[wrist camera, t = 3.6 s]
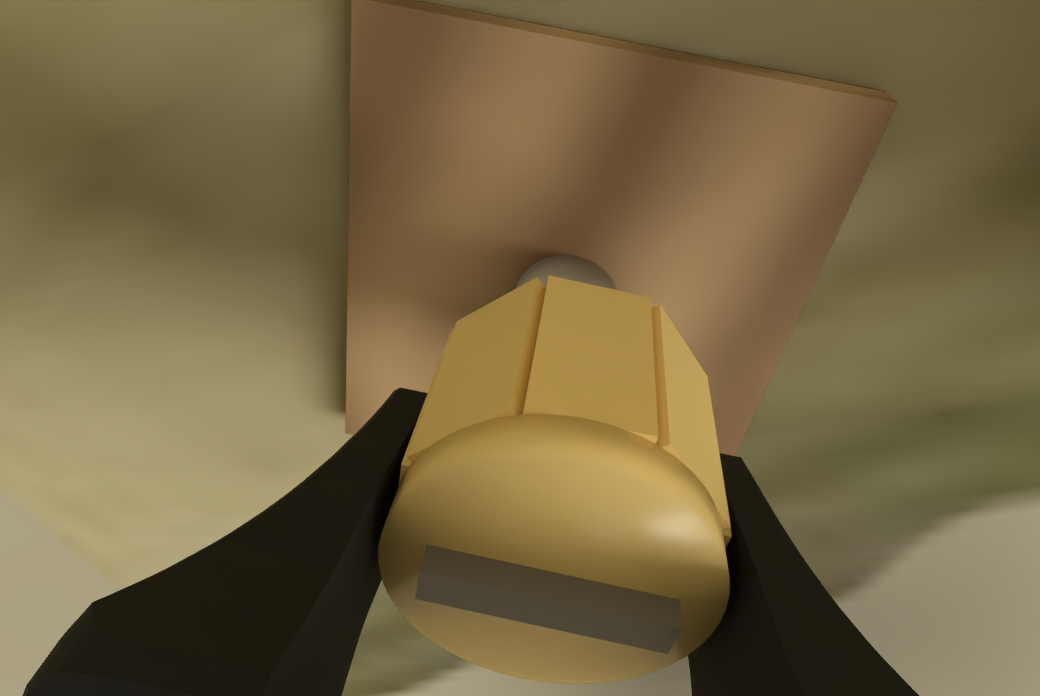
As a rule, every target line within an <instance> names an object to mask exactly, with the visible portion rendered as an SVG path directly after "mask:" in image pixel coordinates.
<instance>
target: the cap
mask: <svg viewBox="0 0 1040 696" xmlns="http://www.w3.org/2000/svg"><path fill="white" fill-rule="evenodd" d="M730 528H731V524H730V518H729V511H728V505H727V499H726V492H725V486H724V479H723V473H722V466H721V460H720V454H719V447H718V441H717V434H716V428H715V422H714V415H713V409H712V402H711V396H710V390H709V383H708V377H707V375H706V373H705V372H704V370H703V369H702V367H701V366H700V364H699V362H698V361H697V359H696V358H695V356H694V355H693V353H692V352H691V350H690V349H689V347H688V346H687V344H686V343H685V341H684V340H683V338H682V337H681V335H680V334H679V332H678V331H677V329H676V327H675V326H674V324H673V323H672V321H671V320H670V318H669V317H668V315H667V314H666V312H665V311H664V309H663V308H662V306H661V305H660V304H658V305H656V306H654V307H652V308H651V298H650V297H646V296H641V295H637V294H632V293H628V292H623V291H618V290H614V289H609V288H605V287H600V286H596V285H591V284H586V283H582V282H577V281H573V280H568V279H564V278H559V277H554V276H550V275H549V277H548V281H547V286H546V287H545V286H544V285H543V283H542V282H541V280H540V279H539V278H538V277H536V278H535V279H533V280H531V281H529V282H527V283H525V284H524V285H522V286H520V287H518V288H516V289H515V290H513V291H511V292H509V293H507V294H505V295H504V296H502V297H500V298H498V299H496V300H495V301H493V302H491V303H489V304H487V305H485V306H484V307H482V308H480V309H478V310H476V311H475V312H473V313H471V314H469V315H467V316H465V317H464V318H462V319H460V320H458V321H457V322H456V325H455V328H454V329H451V332H450V334H449V337H448V340H447V342H446V345H445V348H444V350H443V353H442V356H441V359H440V361H439V364H438V367H437V369H436V372H435V375H434V377H433V380H432V383H431V385H430V388H429V391H428V394H427V396H426V399H425V402H424V404H423V407H422V410H421V412H420V415H419V418H418V420H417V423H416V426H415V429H414V431H413V434H412V437H411V439H410V442H409V445H408V447H407V450H406V453H405V455H404V458H403V461H402V464H401V470H400V479H399V487H398V489H397V492H396V494H395V497H394V500H393V503H392V505H391V508H390V511H389V514H388V516H387V519H386V522H385V525H384V527H383V530H382V533H381V537H380V542H379V547H378V564H379V569H380V574H381V578H382V580H383V583H384V585H385V588H386V590H387V592H388V594H389V596H390V597H391V599H392V601H393V603H394V604H395V606H396V607H397V608H398V609H399V611H400V612H401V613H402V614H403V616H404V617H405V618H406V619H407V620H408V621H409V622H410V623H411V624H412V625H413V626H414V627H415V628H416V629H417V630H419V631H420V632H421V633H422V634H424V635H425V636H426V637H427V638H429V639H430V640H431V641H433V642H434V643H436V644H437V645H439V646H441V647H442V648H444V649H445V650H447V651H449V652H451V653H453V654H454V655H456V656H458V657H460V658H462V659H464V660H467V661H469V662H471V663H474V664H476V665H478V666H481V667H484V668H487V669H490V670H493V671H496V672H499V673H502V674H506V675H510V676H514V677H518V678H523V679H529V680H534V681H541V682H549V683H560V684H561V683H562V684H593V683H605V682H613V681H620V680H625V679H630V678H635V677H639V676H641V675H645V674H649V673H652V672H655V671H657V670H660V669H662V668H665V667H667V666H669V665H672V664H673V663H675V662H677V661H679V660H681V659H682V658H684V657H686V656H687V655H689V654H690V653H691V652H693V651H694V650H696V649H697V648H698V647H700V646H701V645H702V644H703V643H704V642H705V641H706V640H707V639H708V638H709V637H710V636H711V634H712V633H713V632H714V630H715V629H716V627H717V626H718V625H719V623H720V621H721V619H722V617H723V615H724V613H725V611H726V608H727V603H728V599H729V595H730V577H729V570H728V563H727V556H726V549H725V548H726V546H727V545H728V543H729V541H730V539H731V537H732V535H731V529H730Z"/></svg>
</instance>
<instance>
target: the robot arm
mask: <svg viewBox="0 0 1040 696" xmlns="http://www.w3.org/2000/svg"><path fill="white" fill-rule="evenodd" d="M427 394H428V393H425V392H420V391H415V390H410V389H406V388H401V387H400V388H398V389H396V390H394V391H393V393H392V394H391V395H390V396H389V398H388V399H387V400H386V401H385V402H384V404H383V405H382V406H381V407H380V408H379V409H378V410H377V412H376V413H375V414H374V415H373V416H372V417H371V418H370V419H369V420H368V421H367V422H366V423H365V424H364V425H363V427H362V428H361V429H360V430H359V431H358V432H357V433H356V434H355V435H354V436H353V437H352V438H351V439H349V440H348V441H347V442H346V443H345V444H344V445H343V446H342V447H341V448H340V449H339V450H338V451H337V452H336V453H335V454H334V455H333V456H332V457H331V458H330V459H328V460H327V461H326V462H325V463H324V464H323V465H321V466H320V467H319V468H318V469H317V470H316V471H314V472H313V473H312V474H311V475H310V476H309V477H307V478H306V479H305V480H304V481H303V482H302V483H300V484H299V485H298V486H296V487H295V488H294V489H293V490H291V491H290V492H289V493H288V494H286V495H285V496H284V497H282V498H281V499H280V500H278V501H277V502H275V503H274V504H273V505H271V506H270V507H269V508H267V509H266V510H264V511H263V512H261V513H260V514H259V515H257V516H255V517H254V518H252V519H251V520H249V521H248V522H246V523H245V524H243V525H242V526H240V527H239V528H237V529H236V530H234V531H233V532H231V533H229V534H228V535H226V536H224V537H223V538H221V539H220V540H218V541H216V542H214V543H213V544H211V545H209V546H207V547H205V548H204V549H202V550H200V551H198V552H196V553H194V554H193V555H191V556H189V557H187V558H185V559H183V560H182V561H180V562H178V563H176V564H174V565H172V566H171V567H169V568H167V569H165V570H163V571H161V572H159V573H157V574H155V575H153V576H151V577H148V578H146V579H144V580H142V581H140V582H137V583H135V584H133V585H131V586H128V587H126V588H124V589H122V590H120V591H117V592H115V593H113V594H111V595H109V596H107V597H104V598H101V599H99V600H97V601H94V602H92V604H91V605H90V606H89V607H88V608H87V610H85V612H84V613H83V614H82V615H81V616H80V617H79V618H78V619H77V620H76V621H75V622H74V624H73V625H72V626H71V627H70V628H69V629H68V630H67V632H66V633H65V634H64V635H63V636H62V637H61V639H60V640H59V641H58V643H57V644H56V646H55V647H54V648H53V650H52V651H51V652H50V654H49V655H48V657H47V658H46V659H45V661H44V662H43V663H42V665H41V666H40V668H39V669H38V670H37V672H36V673H35V675H34V676H33V677H32V679H31V680H30V681H29V683H28V684H27V686H26V688H25V691H24V694H23V696H341V695H342V692H343V689H344V685H345V682H346V679H347V675H348V672H349V669H350V666H351V662H352V659H353V656H354V653H355V649H356V646H357V643H358V640H359V636H360V633H361V630H362V628H363V625H364V622H365V619H366V617H367V614H368V611H369V609H370V606H371V604H372V602H373V599H374V597H375V594H376V592H377V590H378V587H379V585H380V582H381V580H382V578H381V574H380V569H379V564H378V547H379V542H380V537H381V533H382V530H383V527H384V525H385V522H386V519H387V516H388V514H389V511H390V508H391V505H392V503H393V500H394V497H395V494H396V492H397V489H398V487H399V479H400V470H401V464H402V461H403V458H404V455H405V453H406V450H407V447H408V445H409V442H410V439H411V437H412V434H413V431H414V429H415V426H416V423H417V420H418V418H419V415H420V412H421V410H422V407H423V404H424V402H425V399H426V396H427ZM719 454H720V460H721V466H722V473H723V479H724V486H725V492H726V499H727V505H728V511H729V518H730V524H731V528H730V529H731V535H732V537H731V539H730V541H729V543H728V545H727V546H726V548H725V549H726V556H727V563H728V570H729V577H730V595H729V599H728V603H727V608H726V611H725V613H724V615H723V617H722V619H721V621H720V623H719V625H718V626H717V627H716V629H715V630H714V632H713V633H712V634H711V636H710V637H709V638H708V639H707V640H706V641H705V642H704V643H703V644H702V645H701V646H700V647H698V648H697V649H696V650H694V651H693V652H691V653H690V654H689V655H688V658H689V666H690V674H691V686H692V696H919V695H918V694H917V693H916V692H915V691H914V690H913V689H912V688H911V687H910V686H909V685H908V684H907V683H906V682H905V681H904V680H903V679H902V678H901V677H900V676H899V674H898V673H896V671H895V670H894V669H893V668H892V667H891V666H890V665H889V664H888V663H887V662H886V661H885V660H884V659H883V658H882V657H881V656H880V654H879V653H878V652H877V651H876V650H875V649H874V648H873V647H872V646H871V644H870V643H869V642H868V641H867V640H866V639H865V638H864V636H863V635H862V634H861V633H860V632H859V630H858V629H857V628H856V627H855V626H854V624H853V623H852V622H851V621H850V620H849V618H848V617H847V616H846V615H845V614H844V612H843V611H842V610H841V609H840V608H839V606H838V605H837V604H836V602H835V601H834V600H833V599H832V597H831V596H830V595H829V593H828V592H827V591H826V589H825V588H824V587H823V585H822V584H821V582H820V581H819V580H818V578H817V577H816V576H815V574H814V573H813V571H812V570H811V569H810V567H809V566H808V564H807V563H806V562H805V560H804V559H803V557H802V556H801V554H800V553H799V551H798V550H797V548H796V547H795V545H794V543H793V542H792V540H791V539H790V537H789V536H788V534H787V533H786V531H785V530H784V528H783V526H782V525H781V523H780V522H779V520H778V518H777V517H776V515H775V513H774V512H773V510H772V508H771V507H770V505H769V503H768V502H767V500H766V499H765V497H764V495H763V493H762V492H761V490H760V488H759V487H758V485H757V483H756V482H755V480H754V478H753V477H752V475H751V473H750V471H749V470H748V468H747V467H746V465H745V463H744V462H743V460H742V458H741V457H737V456H732V455H727V454H722V453H719Z"/></svg>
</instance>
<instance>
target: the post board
mask: <svg viewBox="0 0 1040 696" xmlns="http://www.w3.org/2000/svg"><path fill="white" fill-rule="evenodd" d="M896 105H897V102H896V101H894V100H893V99H892V98H891V97H890V96H889V95H888V94H887V93H886V92H884V91H879V90H874V89H869V88H864V87H859V86H854V85H848V84H843V83H838V82H833V81H828V80H823V79H818V78H812V77H807V76H802V75H797V74H792V73H787V72H781V71H776V70H771V69H766V68H761V67H756V66H751V65H745V64H740V63H735V62H730V61H725V60H720V59H714V58H709V57H704V56H699V55H694V54H689V53H684V52H678V51H673V50H668V49H663V48H658V47H653V46H647V45H642V44H637V43H632V42H627V41H622V40H617V39H611V38H606V37H601V36H596V35H591V34H586V33H580V32H575V31H570V30H565V29H560V28H555V27H550V26H544V25H539V24H534V23H529V22H524V21H519V20H513V19H508V18H503V17H498V16H493V15H488V14H483V13H477V12H472V11H467V10H462V9H457V8H452V7H447V6H441V5H436V4H431V3H426V2H421V1H416V0H351V62H350V135H349V208H348V281H347V353H346V426H345V433H348V434H353V435H355V434H356V433H357V432H358V431H359V430H360V429H361V428H362V427H363V425H364V424H365V423H366V422H367V421H368V420H369V419H370V418H371V417H372V416H373V415H374V414H375V413H376V412H377V410H378V409H379V408H380V407H381V406H382V405H383V404H384V402H385V401H386V400H387V399H388V398H389V396H390V395H391V394H392V393H393V391H394V390H396V389H398V388H400V387H401V388H406V389H410V390H415V391H420V392H425V393H428V391H429V388H430V385H431V383H432V380H433V377H434V375H435V372H436V369H437V367H438V364H439V361H440V359H441V356H442V353H443V350H444V348H445V345H446V342H447V340H448V337H449V334H450V332H451V329H454V328H455V325H456V322H457V321H458V320H460V319H462V318H464V317H465V316H467V315H469V314H471V313H473V312H475V311H476V310H478V309H480V308H482V307H484V306H485V305H487V304H489V303H491V302H493V301H495V300H496V299H498V298H500V297H502V296H504V295H505V294H507V293H509V292H511V291H513V290H515V289H516V288H518V287H520V286H522V285H524V284H525V283H527V282H529V281H531V280H533V279H535V278H536V277H538V278H539V279H540V280H541V282H542V283H543V285H544V286H545V287H546V286H547V281H548V277H549V275H550V276H554V277H559V278H564V279H568V280H573V281H577V282H582V283H586V284H591V285H596V286H600V287H605V288H609V289H614V290H618V291H623V292H628V293H632V294H637V295H641V296H646V297H650V298H651V308H652V307H654V306H656V305H658V304H660V305H661V306H662V308H663V309H664V311H665V312H666V314H667V315H668V317H669V318H670V320H671V321H672V323H673V324H674V326H675V327H676V329H677V331H678V332H679V334H680V335H681V337H682V338H683V340H684V341H685V343H686V344H687V346H688V347H689V349H690V350H691V352H692V353H693V355H694V356H695V358H696V359H697V361H698V362H699V364H700V366H701V367H702V369H703V370H704V372H705V373H706V375H707V377H708V383H709V390H710V396H711V402H712V409H713V415H714V422H715V428H716V434H717V441H718V447H719V453H722V454H727V455H732V456H735V455H736V453H737V450H738V448H739V446H740V444H741V442H742V439H743V437H744V435H745V433H746V431H747V429H748V426H749V424H750V422H751V420H752V418H753V416H754V413H755V411H756V409H757V407H758V405H759V403H760V400H761V398H762V396H763V394H764V392H765V389H766V387H767V385H768V383H769V381H770V379H771V376H772V374H773V372H774V370H775V368H776V366H777V363H778V361H779V359H780V357H781V355H782V353H783V350H784V348H785V346H786V344H787V342H788V339H789V337H790V335H791V333H792V331H793V329H794V326H795V324H796V322H797V320H798V318H799V316H800V313H801V311H802V309H803V307H804V305H805V302H806V300H807V298H808V296H809V294H810V292H811V289H812V287H813V285H814V283H815V281H816V279H817V276H818V274H819V272H820V270H821V268H822V266H823V263H824V261H825V259H826V257H827V255H828V252H829V250H830V248H831V246H832V244H833V242H834V239H835V237H836V235H837V233H838V231H839V229H840V226H841V224H842V222H843V220H844V218H845V215H846V213H847V211H848V209H849V207H850V205H851V202H852V200H853V198H854V196H855V194H856V192H857V189H858V187H859V185H860V183H861V181H862V179H863V176H864V174H865V172H866V170H867V168H868V165H869V163H870V161H871V159H872V157H873V155H874V152H875V150H876V148H877V146H878V144H879V142H880V139H881V137H882V135H883V133H884V131H885V128H886V126H887V124H888V122H889V120H890V118H891V115H892V113H893V111H894V109H895V107H896Z"/></svg>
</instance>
